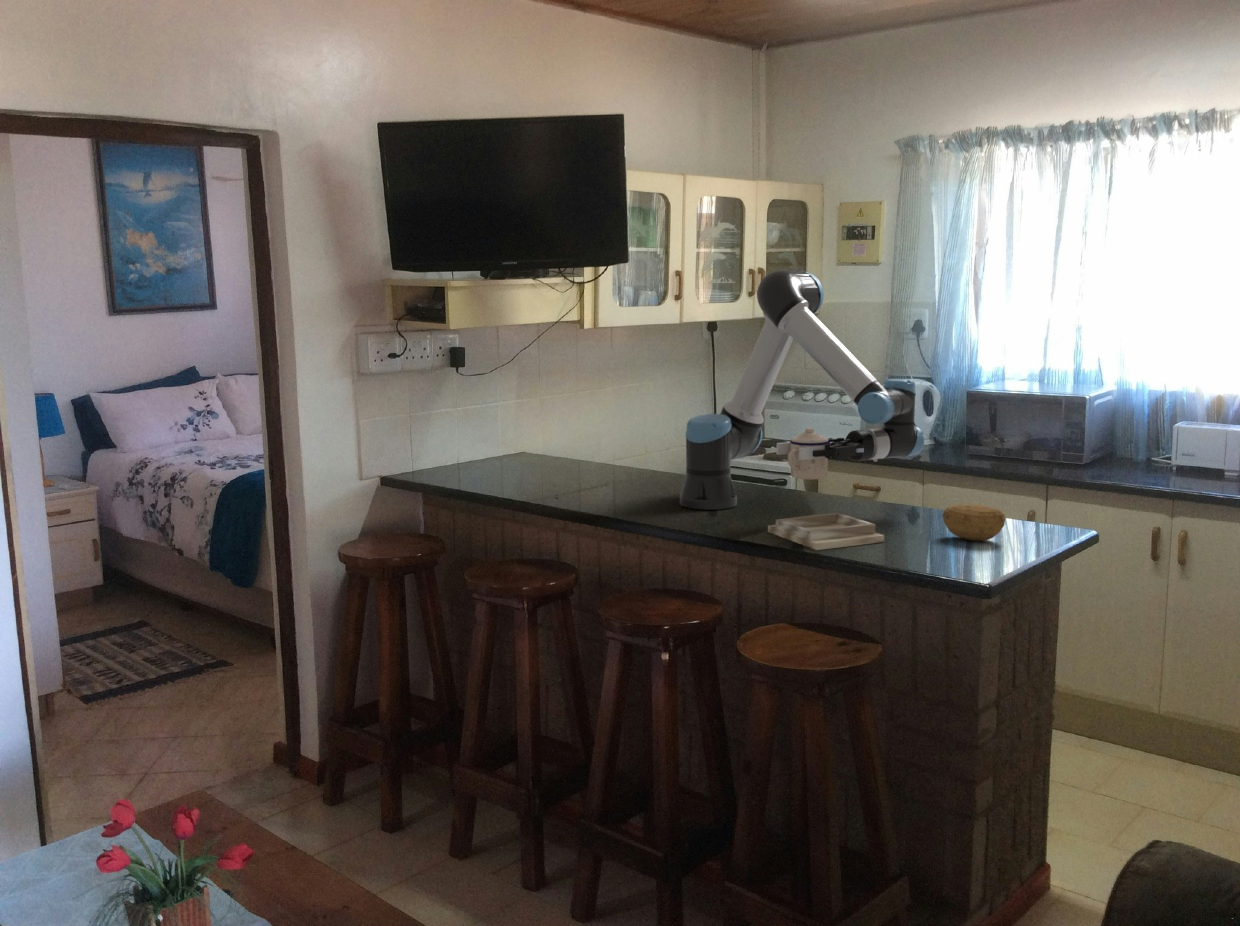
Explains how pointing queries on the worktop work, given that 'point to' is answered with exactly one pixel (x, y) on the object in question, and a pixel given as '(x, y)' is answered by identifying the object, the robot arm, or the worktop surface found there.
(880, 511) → the worktop surface
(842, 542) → the cradle board
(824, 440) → the teacup with lid
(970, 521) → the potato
